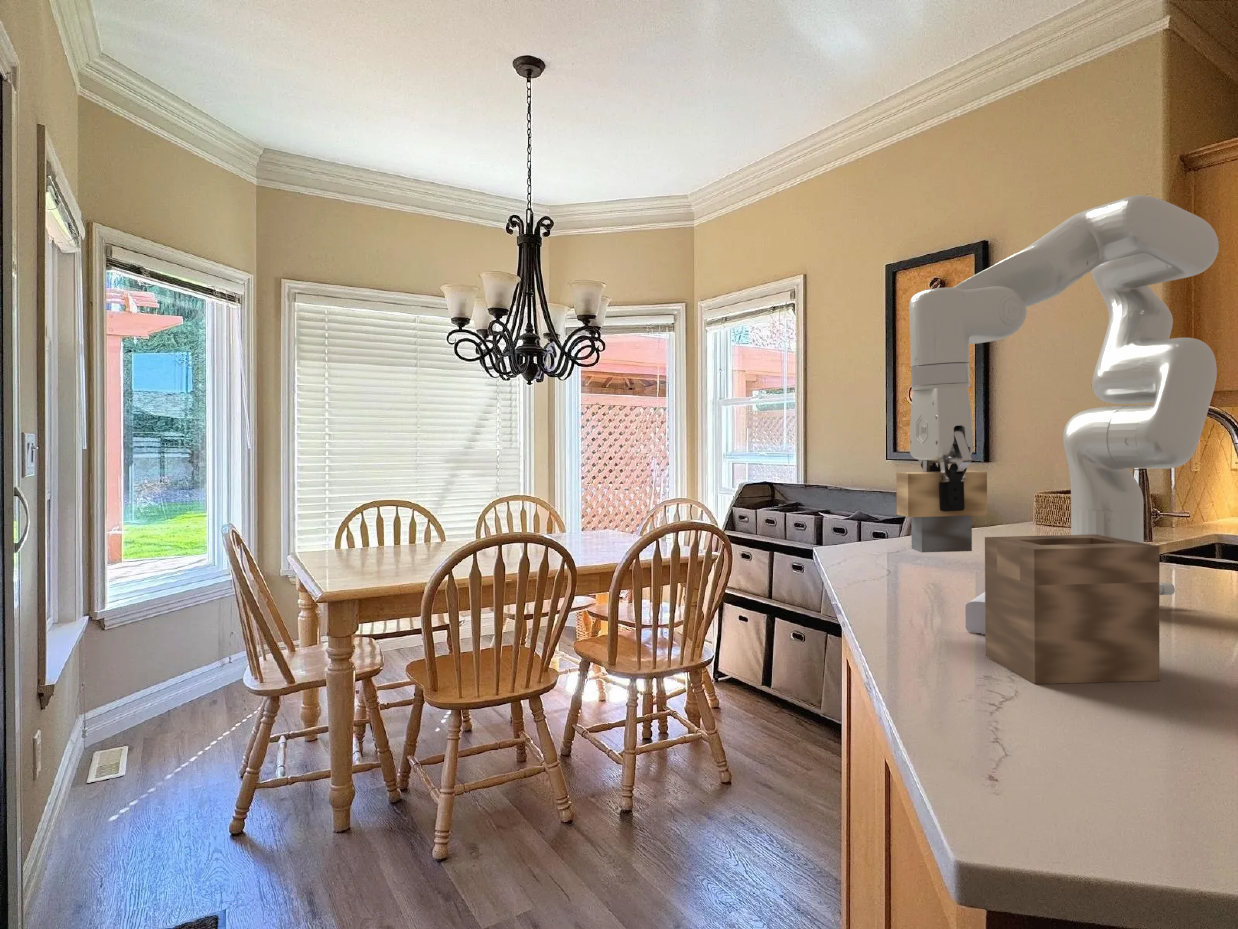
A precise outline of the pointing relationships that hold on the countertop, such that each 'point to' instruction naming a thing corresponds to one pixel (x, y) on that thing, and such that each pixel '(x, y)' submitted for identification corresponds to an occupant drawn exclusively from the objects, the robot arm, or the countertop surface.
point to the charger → (976, 615)
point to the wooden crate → (1073, 608)
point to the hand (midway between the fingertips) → (944, 507)
